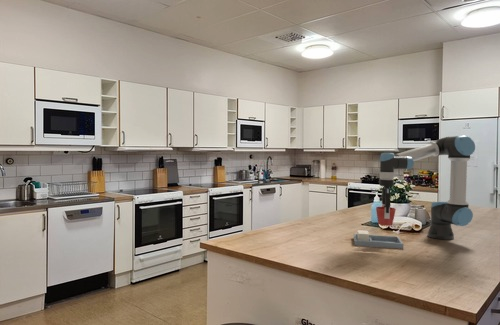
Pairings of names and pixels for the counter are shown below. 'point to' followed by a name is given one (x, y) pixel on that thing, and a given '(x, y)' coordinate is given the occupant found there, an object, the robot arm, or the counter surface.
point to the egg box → (362, 235)
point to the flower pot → (381, 214)
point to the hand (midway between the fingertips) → (385, 216)
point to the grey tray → (380, 241)
